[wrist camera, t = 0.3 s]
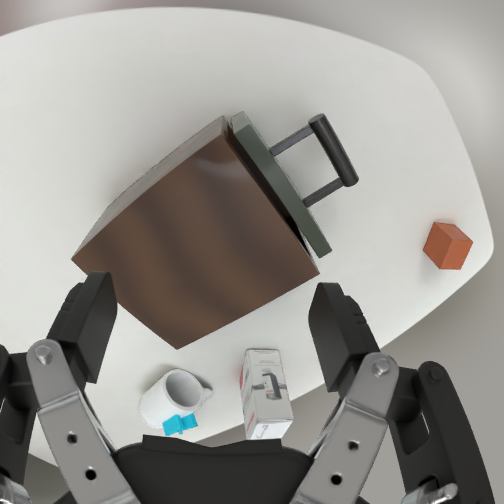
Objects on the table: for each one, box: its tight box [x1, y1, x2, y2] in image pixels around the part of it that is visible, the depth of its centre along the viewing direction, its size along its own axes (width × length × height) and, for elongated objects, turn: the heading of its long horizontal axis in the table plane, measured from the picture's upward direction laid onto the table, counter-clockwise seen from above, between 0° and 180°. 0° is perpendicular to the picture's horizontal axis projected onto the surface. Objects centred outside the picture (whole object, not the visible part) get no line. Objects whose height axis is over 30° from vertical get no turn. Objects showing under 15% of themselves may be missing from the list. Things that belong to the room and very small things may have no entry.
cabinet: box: [71, 116, 320, 350], centre depth 25 cm, size 15×13×10 cm
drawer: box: [228, 111, 359, 258], centre depth 24 cm, size 18×11×8 cm, turn 124°
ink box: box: [240, 349, 294, 440], centre depth 39 cm, size 9×5×12 cm, turn 171°
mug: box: [138, 369, 212, 436], centre depth 44 cm, size 12×9×12 cm
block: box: [423, 222, 473, 270], centre depth 32 cm, size 4×4×4 cm
